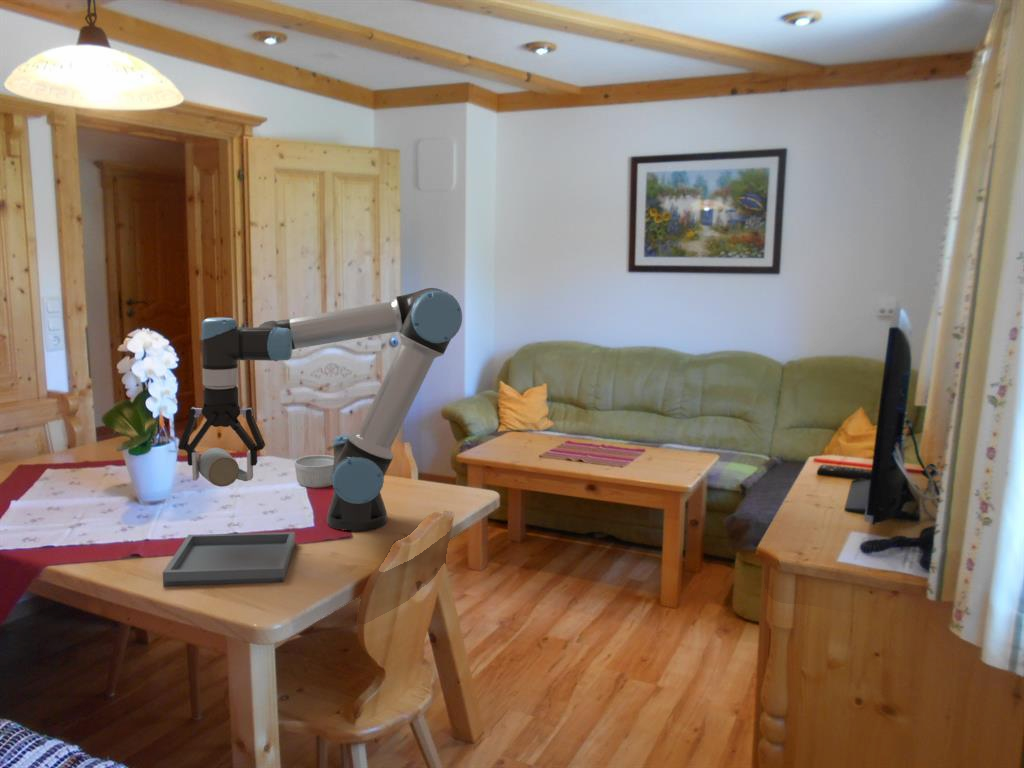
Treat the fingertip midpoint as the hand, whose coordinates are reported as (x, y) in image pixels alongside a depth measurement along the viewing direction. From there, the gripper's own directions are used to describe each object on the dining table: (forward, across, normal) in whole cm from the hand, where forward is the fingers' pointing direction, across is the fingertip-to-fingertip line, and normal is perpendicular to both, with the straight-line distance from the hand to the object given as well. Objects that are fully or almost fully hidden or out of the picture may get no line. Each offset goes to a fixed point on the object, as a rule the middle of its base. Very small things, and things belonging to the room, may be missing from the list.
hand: (223, 478), depth 184 cm
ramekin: (+16, -15, -51) cm, 56 cm away
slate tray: (+16, -4, +11) cm, 20 cm away
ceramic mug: (+1, 0, 0) cm, 1 cm away
